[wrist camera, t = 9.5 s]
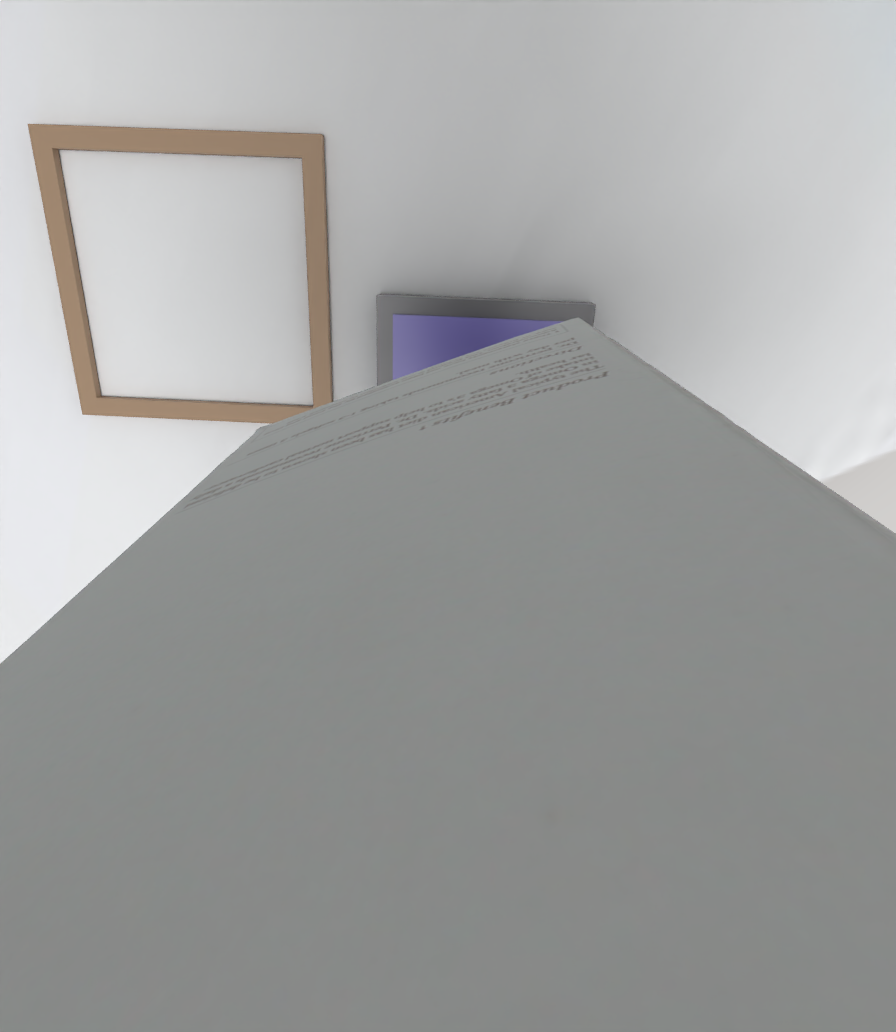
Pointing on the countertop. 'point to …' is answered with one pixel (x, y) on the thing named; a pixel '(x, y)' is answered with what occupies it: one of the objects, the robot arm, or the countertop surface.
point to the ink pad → (456, 327)
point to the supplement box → (466, 729)
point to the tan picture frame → (182, 142)
